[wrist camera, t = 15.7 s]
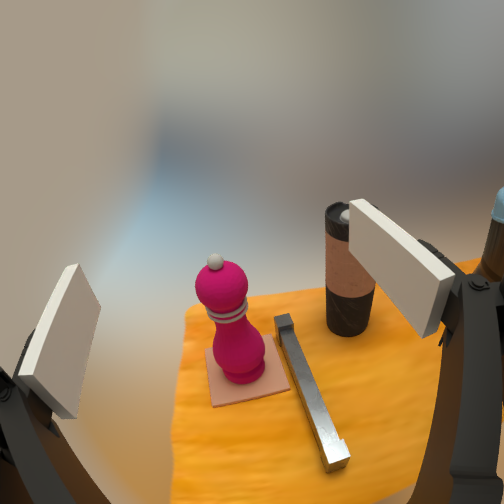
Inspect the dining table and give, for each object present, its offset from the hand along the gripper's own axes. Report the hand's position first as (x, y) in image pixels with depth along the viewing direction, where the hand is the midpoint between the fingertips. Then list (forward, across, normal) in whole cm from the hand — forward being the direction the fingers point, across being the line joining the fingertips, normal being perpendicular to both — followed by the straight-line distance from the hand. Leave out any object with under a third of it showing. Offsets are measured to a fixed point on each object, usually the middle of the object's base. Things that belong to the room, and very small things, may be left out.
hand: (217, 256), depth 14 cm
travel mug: (+20, +18, -30) cm, 40 cm away
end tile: (+16, -1, -30) cm, 34 cm away
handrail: (+9, +7, -30) cm, 32 cm away
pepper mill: (+16, -1, -30) cm, 34 cm away
